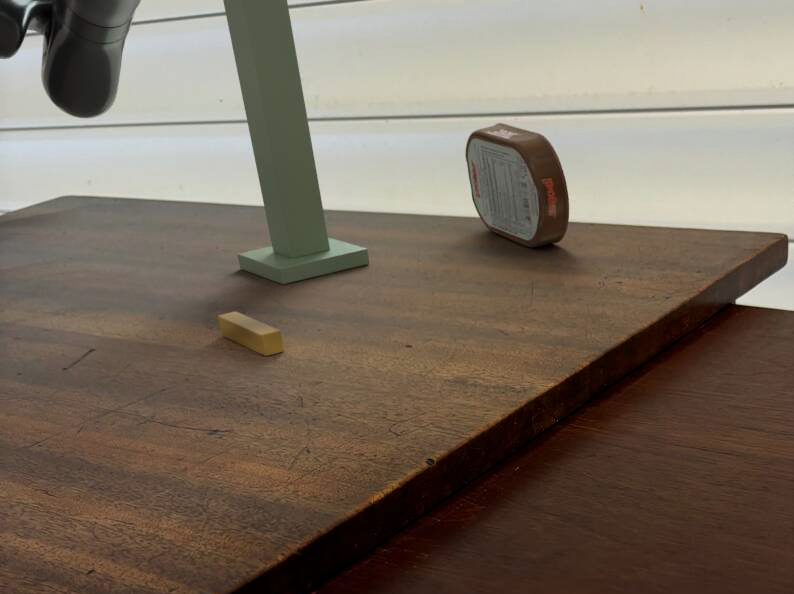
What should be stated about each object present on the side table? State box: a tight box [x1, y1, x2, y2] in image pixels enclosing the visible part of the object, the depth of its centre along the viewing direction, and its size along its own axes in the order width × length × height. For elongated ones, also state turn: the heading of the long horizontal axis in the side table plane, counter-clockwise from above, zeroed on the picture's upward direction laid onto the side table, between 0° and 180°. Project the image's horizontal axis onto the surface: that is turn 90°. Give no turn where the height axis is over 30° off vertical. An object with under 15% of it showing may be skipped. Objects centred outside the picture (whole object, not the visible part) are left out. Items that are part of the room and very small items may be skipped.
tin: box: [465, 122, 570, 248], centre depth 98 cm, size 15×3×8 cm, turn 27°
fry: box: [217, 310, 285, 357], centre depth 80 cm, size 7×1×1 cm, turn 37°
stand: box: [222, 0, 370, 285], centre depth 88 cm, size 15×8×31 cm, turn 37°
